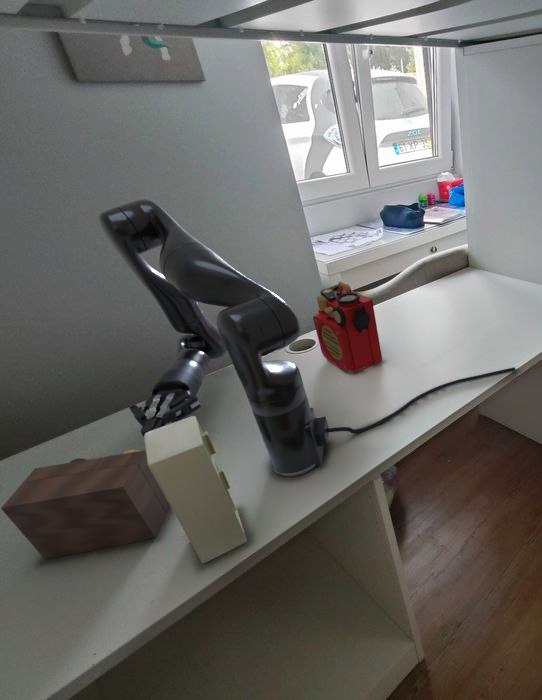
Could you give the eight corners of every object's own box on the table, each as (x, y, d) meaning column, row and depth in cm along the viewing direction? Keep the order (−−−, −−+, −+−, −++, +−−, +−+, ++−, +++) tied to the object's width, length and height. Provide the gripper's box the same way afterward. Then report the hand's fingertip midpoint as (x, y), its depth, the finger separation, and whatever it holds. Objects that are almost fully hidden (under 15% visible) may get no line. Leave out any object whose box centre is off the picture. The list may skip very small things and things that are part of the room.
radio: (321, 356, 119) (303, 287, 109) (353, 342, 125) (339, 275, 115) (352, 378, 109) (336, 305, 99) (386, 362, 115) (374, 291, 105)
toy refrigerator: (253, 539, 71) (208, 441, 60) (203, 565, 67) (145, 465, 57) (242, 507, 76) (199, 412, 66) (195, 530, 73) (141, 432, 62)
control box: (178, 488, 81) (151, 439, 75) (155, 538, 72) (122, 486, 66) (81, 505, 79) (45, 456, 72) (44, 559, 69) (0, 508, 63)
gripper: (139, 373, 93) (98, 426, 78) (207, 363, 95) (179, 413, 80) (154, 401, 97) (117, 457, 82) (218, 392, 99) (194, 444, 84)
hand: (148, 435), depth 81 cm, fingers closed
